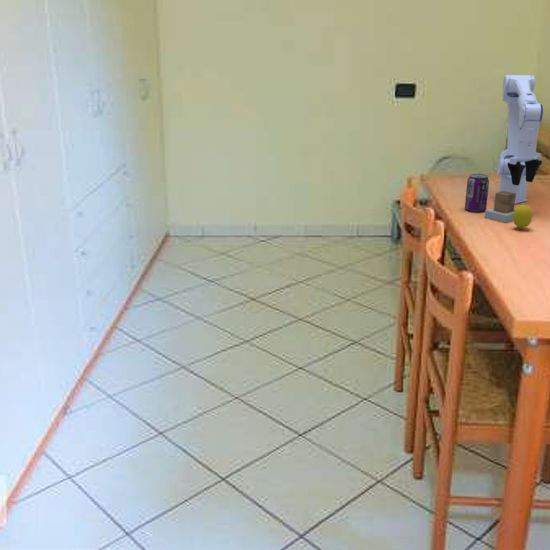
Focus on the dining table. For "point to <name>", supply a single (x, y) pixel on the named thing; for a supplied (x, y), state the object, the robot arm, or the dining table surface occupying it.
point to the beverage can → (477, 192)
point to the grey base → (499, 215)
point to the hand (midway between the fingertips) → (522, 183)
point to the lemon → (522, 216)
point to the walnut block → (504, 202)
